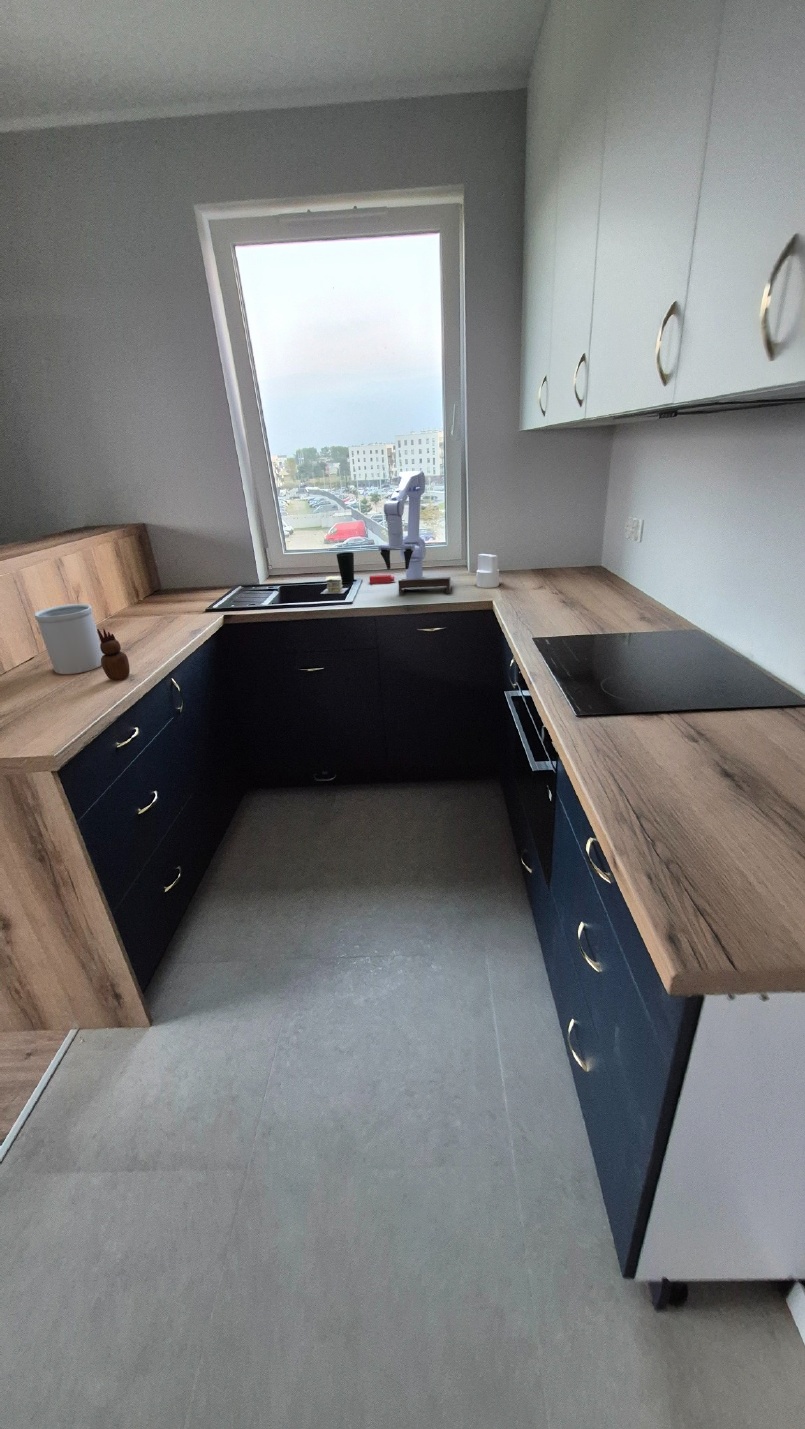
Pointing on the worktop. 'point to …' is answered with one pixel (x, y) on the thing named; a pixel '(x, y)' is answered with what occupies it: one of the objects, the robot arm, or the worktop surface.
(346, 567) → the cup
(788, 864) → the worktop surface
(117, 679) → the wooden figurine
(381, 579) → the crayon
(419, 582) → the shelf
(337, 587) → the stacked layers on plate
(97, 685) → the worktop surface
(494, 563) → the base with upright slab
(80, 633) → the utensil holder
